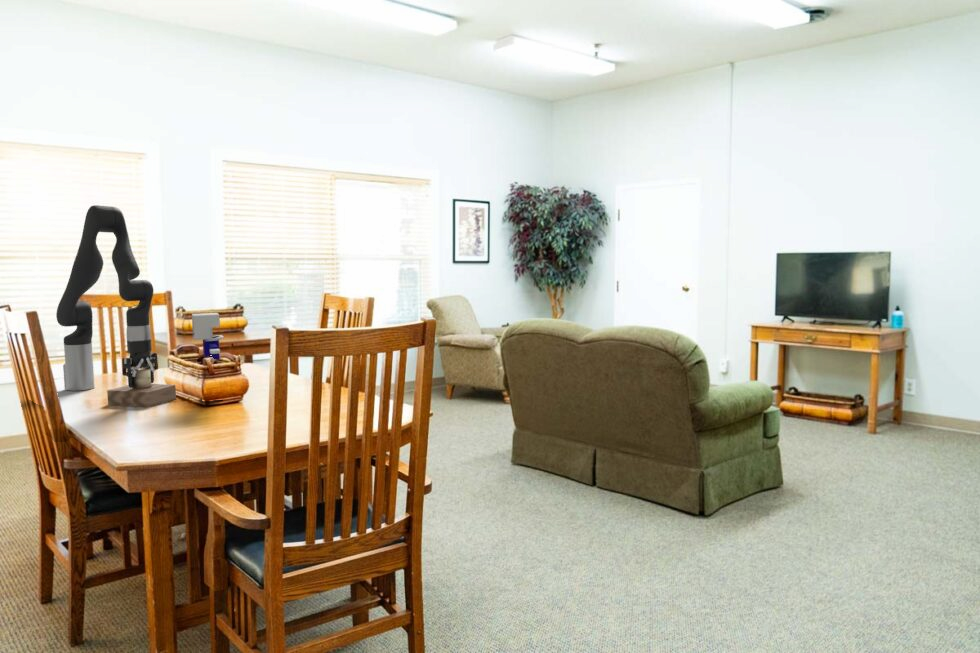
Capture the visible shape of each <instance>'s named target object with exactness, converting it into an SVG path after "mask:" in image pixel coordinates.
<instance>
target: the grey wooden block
mask: <svg viewBox="0 0 980 653" xmlns="http://www.w3.org/2000/svg"><path fill="white" fill-rule="evenodd" d="M106 392H107V393H106V394H107V405H109V406H123V407H124V406H125V407H135V408H136V407H139V408H140V407H141V408H142V407H143V408H149V407H153V406H156V405H160V404H163V403H167V402H171V401H173V399H174V400H177V395H176V394H177V393H176V384H165V383H163V384H162V383H161V384H160V383H151V387H150V388H146V389H133V388H130V387H129V385H128V384H127V385H124V386H119V387H114V388H111V389H107V390H106Z"/></svg>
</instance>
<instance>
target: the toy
mask: <svg viewBox="0 0 980 653" xmlns="http://www.w3.org/2000/svg"><path fill="white" fill-rule="evenodd" d="M191 322H192V323H191V324H192V338H193V340H194V341H202V350H203V351H202V354H204V356H203V358H204V357H206V356H209V357H213V358H214V359H220V357H221V356H220V354H221V349H220V340H221V339H223V338H224V337H225V336H223V334H220V335H219V334H216V335H214V334H213V333H214V330H213V329H214V328H216V327H217V328H220V327H221V320H220V314H219V313H218V312H206V313H205V312H204V313H200V312H199V313H192V314H191ZM210 355H212V356H210Z"/></svg>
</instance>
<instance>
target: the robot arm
mask: <svg viewBox="0 0 980 653" xmlns="http://www.w3.org/2000/svg"><path fill="white" fill-rule="evenodd" d="M83 224H84V225H83V229H82V235H81V239H80V243H79V246H78V249H77V253H76V256H75V258H74V261H73V264H72V267H71V271H70V275H69V279H68V282H67V284H66V287H65V290H64V292H63V294H62V296H61V298H60V301H59V303H58V305H57V308H56V313H55V314H56V321H57V323H58V324H59V325H60V326H61V327H76V329H75V330H74V331H73V332H72V333H70V334H68V335H66V336H64V337H63V350H64V364H63V365H62V367H63V368H62V369H63V381H64V383H63V384H64V390H67V391H72V392H74V391H88V390H91V389H92V390H93V389H94V388H95V373H94V370H95V369H94V359H93V358H94V356H93V355H94V354H93V310H92V306H91V305H90V303H89V302H88V301H85V300H80V299H81V297H83V295H84V294H86V292H87V291H89V290H90V289H91V288H92V287H93V286H94V285H95V284H97V282H98V280H99V279H100V277H101V273H102V271H103V267H104V259H103V255H102V254H101V252H100V250H99V247H98V245H97V238H98V237H97V236H98V234H99V233H110V234H111V233H112V234H114V236H115V239H116V242H115V244H114V247H113V250H112V254H111V261H112V264H113V267H114V269H115V272H116V274H117V280H118V295H119V297H120V298H121V299H122V300H123V301H126V302H138V304H137V306H135V307H131V308H128V309H127V310H126V313H125V315H126V319H125V320H126V347H127V353H128V354H129V357H123V358H122V359H121V360H122V362H121V364H122V376H126V377H127V382H128V384H127V385H129V387H130V388H135V387H136V379H135V377H134V376H135V374H136V372H137V371H138V370H139V369H150V371H151V384H154V382H155V377H154V376H155V374H154V373H155V372H156V371H157V370H158V369H159V364H158V363H159V362H158V354H157V352H152V350H153V349H152V348H153V347H152V333H151V331H152V330H151V326H150V310H151V305H152V304H151V303H152V300H153V297H154V286H153V284H152V282H151V281H149V280H147V279H137V278H138V277H139V276H140V274H141V271H140V267H139V264H138V263H137V260H136V257H135V255H134V254H133V250H132V246H131V243H130V237H129V232H128V228H127V224H126V220H125V217H124V214H123V211H122V210H121V209H120V208H119V207H117V206H116V207H115V206H109V205H95V204H93V205H91V206H90V207H89V208H88V210H87V211H86V215H85V219H84V223H83ZM135 279H136V280H135ZM132 371H133V372H132Z"/></svg>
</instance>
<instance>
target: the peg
mask: <svg viewBox="0 0 980 653" xmlns="http://www.w3.org/2000/svg"><path fill="white" fill-rule="evenodd" d="M132 372H133V371H132ZM132 372H131V373H132ZM134 377H135V379H136V387H135V388H133V389H146V388H150V387H151V384H152V383H151V371H150V369H145V368H140V369H139V370H138V371H137V372H136V374H135V376H134Z"/></svg>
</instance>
